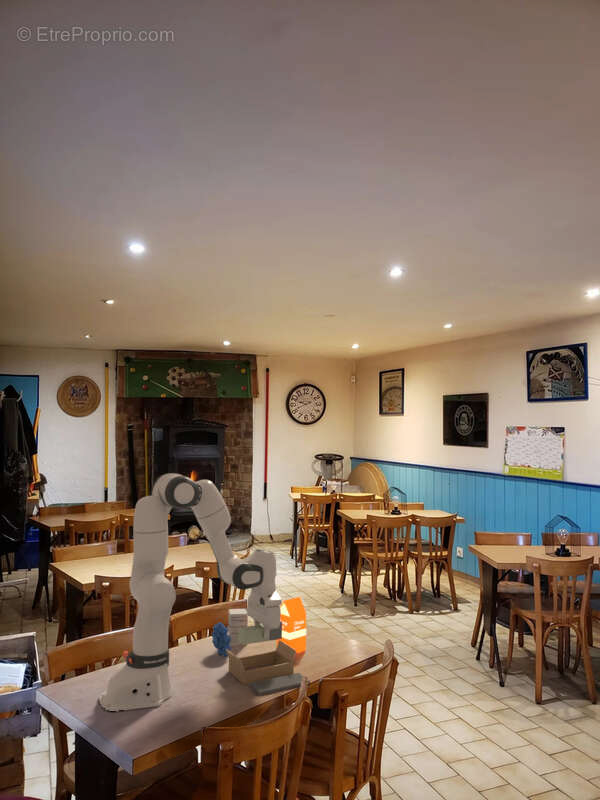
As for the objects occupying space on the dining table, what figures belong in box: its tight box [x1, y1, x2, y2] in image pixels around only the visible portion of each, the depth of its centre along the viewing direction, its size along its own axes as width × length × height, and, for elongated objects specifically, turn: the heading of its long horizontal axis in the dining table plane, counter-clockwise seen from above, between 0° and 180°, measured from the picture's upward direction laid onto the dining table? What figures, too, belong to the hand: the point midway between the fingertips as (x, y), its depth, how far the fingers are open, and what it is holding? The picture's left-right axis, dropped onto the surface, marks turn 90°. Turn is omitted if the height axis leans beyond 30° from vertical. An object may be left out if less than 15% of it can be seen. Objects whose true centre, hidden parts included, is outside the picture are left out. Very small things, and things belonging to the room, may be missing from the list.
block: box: [238, 621, 282, 646], centre depth 216 cm, size 15×4×6 cm, turn 120°
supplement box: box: [227, 608, 249, 647], centre depth 246 cm, size 7×7×13 cm
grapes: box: [211, 621, 233, 657], centre depth 231 cm, size 12×7×12 cm, turn 40°
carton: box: [226, 640, 296, 685], centre depth 215 cm, size 22×13×8 cm, turn 119°
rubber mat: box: [248, 672, 311, 696], centre depth 204 cm, size 19×8×1 cm, turn 120°
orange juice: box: [276, 596, 307, 654], centre depth 238 cm, size 8×9×20 cm
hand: (262, 634), depth 216 cm, fingers closed on block, 4 cm apart
